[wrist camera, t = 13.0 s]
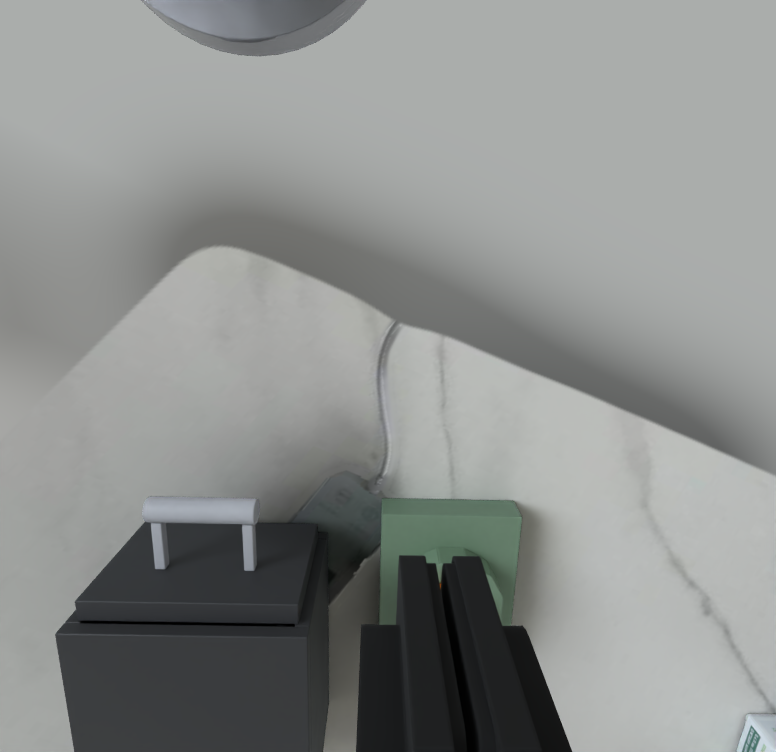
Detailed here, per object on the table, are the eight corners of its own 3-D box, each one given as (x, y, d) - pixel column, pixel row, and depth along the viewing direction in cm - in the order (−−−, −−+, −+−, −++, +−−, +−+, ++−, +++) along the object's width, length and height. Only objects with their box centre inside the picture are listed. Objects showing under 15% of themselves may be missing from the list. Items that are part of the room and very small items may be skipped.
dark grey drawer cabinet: (144, 529, 34) (54, 634, 25) (328, 532, 34) (307, 637, 25) (162, 700, 37) (89, 849, 28) (328, 703, 38) (311, 851, 28)
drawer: (139, 460, 32) (62, 525, 24) (317, 464, 32) (296, 530, 24) (162, 686, 36) (104, 801, 28) (319, 688, 36) (302, 803, 29)
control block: (381, 497, 33) (381, 529, 30) (513, 500, 34) (530, 532, 30) (378, 634, 36) (377, 679, 32) (500, 635, 36) (514, 681, 32)
